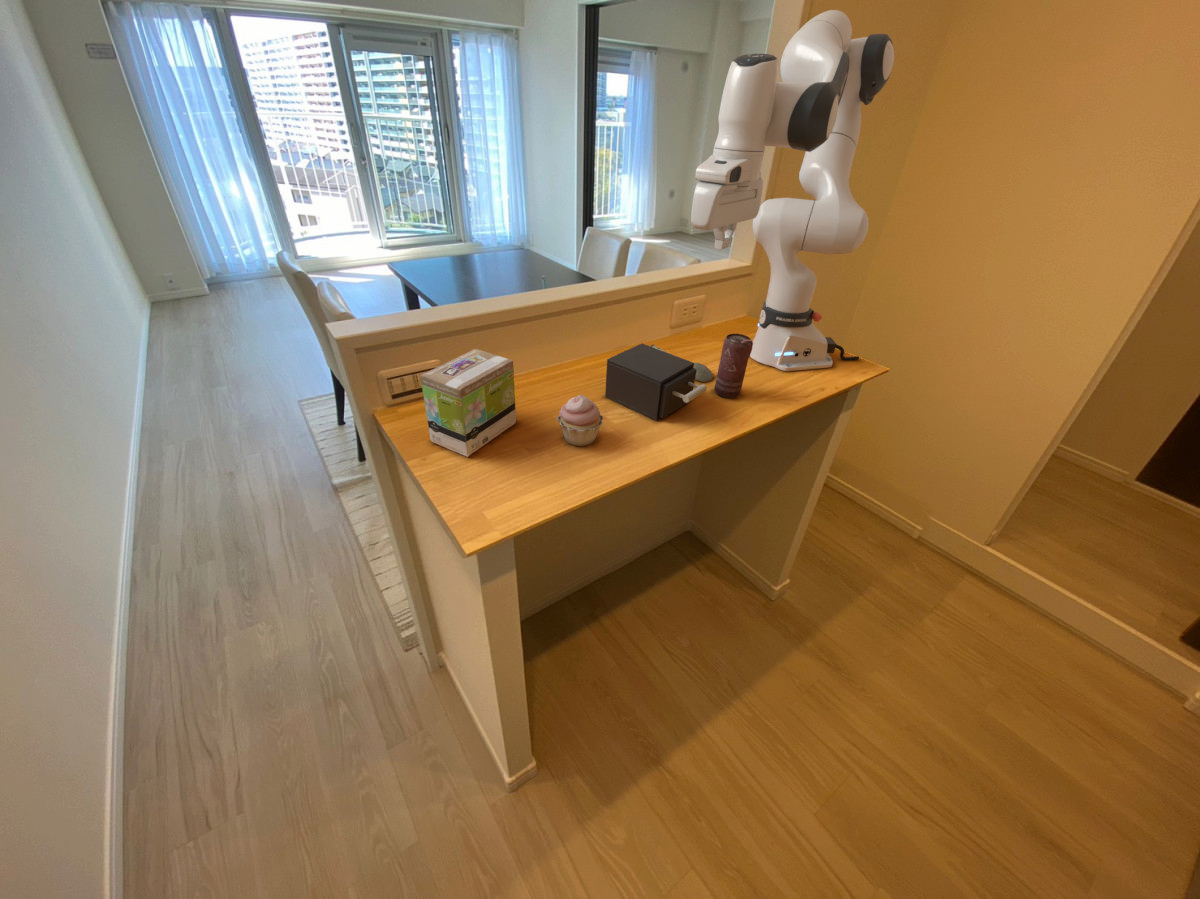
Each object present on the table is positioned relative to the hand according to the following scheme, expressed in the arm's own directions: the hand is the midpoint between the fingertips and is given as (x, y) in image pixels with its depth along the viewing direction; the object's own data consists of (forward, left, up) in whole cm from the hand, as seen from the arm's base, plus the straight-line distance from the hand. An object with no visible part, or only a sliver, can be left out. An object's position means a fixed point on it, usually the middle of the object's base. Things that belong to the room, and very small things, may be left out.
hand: (721, 248), depth 97 cm
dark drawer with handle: (+9, +5, -32) cm, 34 cm away
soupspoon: (+1, -16, -33) cm, 37 cm away
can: (-8, -1, -33) cm, 34 cm away
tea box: (+49, +16, -33) cm, 61 cm away
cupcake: (+28, +18, -33) cm, 47 cm away
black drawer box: (+12, +2, -33) cm, 35 cm away
